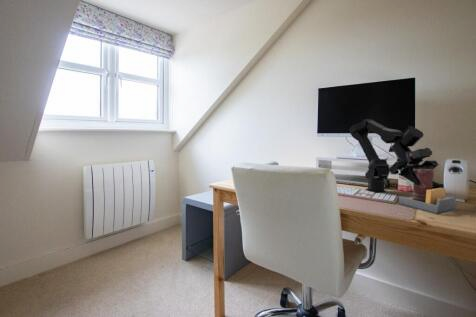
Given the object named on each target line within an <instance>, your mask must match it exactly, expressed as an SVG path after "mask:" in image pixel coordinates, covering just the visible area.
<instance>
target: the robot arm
mask: <svg viewBox="0 0 476 317" xmlns="http://www.w3.org/2000/svg"><path fill="white" fill-rule="evenodd" d="M370 131H371V132H373V133H375V134H376V135H378V136H379V137H380V140H381V141H382V142H383V143H385V144H388V145H389V144H393V145H390V146H389V148H388V152H389V153H394V154H395V155H396V157H397V159H396V161H395V162H394V163H393V164H392V165H391V166H390V165H389V163H388V162H387V160H386V159H384V158H380V157H379V155H378V153H377V151H376V149H375V148H374V146H373V144H372V142H371V140H370V139H369V132H370ZM349 134H350V136H351V137H352V138H353V139H354V140H355V141H358V143H359V145H360V147H361V149H362V152H363V153H364V154H365V157H366V159H367V161H368V167H367V168H368V170H367V171H366V172H365V173H364V174H365V175H364V177H365V179H368V181H367V188H365V190H366V191H369V190H370V191H369V192H373V191H376V192H375V193H382V191H384V192H386V190H385V180H388V178H389V175H390V174H391V175H398V177H399V176H402V177H404V178H406V179H408V180H410V181H411V182H413V183H415V184H416V185H420V182H419V180H418V178H417V177H416V175H415V173H414V169H415V168H418V167H425V168H431V169H433V170H435V168H437V167H438V166H439V163H438V161H436V160H434V159H432V160H431V159H429V160H425V161H424V159H426V158H430V157H431V156H432V155H433V151H432V149H431V148H430V147H425V148H417V149H415V150H412V149H411V148H410V147H414V146H415V145H417V143H418V142H419V141H420V140H421V139H422V138H423V137H424V133H423V132H422V130H419V129H418V128H416V127H415V126H413V125H408V126H407V128H406V129H405V130H404V132H403V131H401V130H398V129H393V128H388V127H386V126H384V125H383V124H381V123H378V122H376V121H375V120H374V119H363V120H361V121H360V122H357V123H355V124H353V125H352V126H351V127H349ZM423 161H424V162H423ZM399 170H400V173H399Z"/></svg>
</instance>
